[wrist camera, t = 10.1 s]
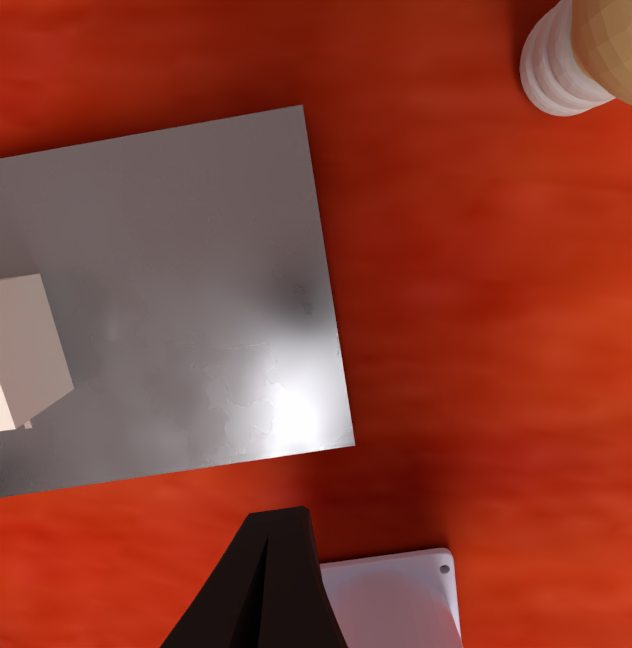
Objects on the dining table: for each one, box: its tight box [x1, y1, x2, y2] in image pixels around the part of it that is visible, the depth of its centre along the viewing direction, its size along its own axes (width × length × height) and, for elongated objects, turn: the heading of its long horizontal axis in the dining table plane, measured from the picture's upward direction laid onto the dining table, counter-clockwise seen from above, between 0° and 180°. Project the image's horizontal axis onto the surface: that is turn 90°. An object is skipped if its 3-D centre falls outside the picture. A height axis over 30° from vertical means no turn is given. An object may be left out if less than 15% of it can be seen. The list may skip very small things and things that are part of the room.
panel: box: [0, 104, 355, 497], centre depth 16 cm, size 14×18×4 cm
